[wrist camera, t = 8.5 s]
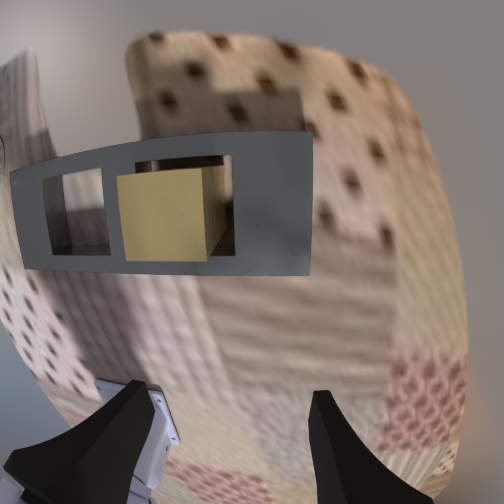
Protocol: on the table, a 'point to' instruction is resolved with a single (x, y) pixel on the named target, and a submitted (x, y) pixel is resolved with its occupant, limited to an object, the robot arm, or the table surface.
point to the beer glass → (1, 158)
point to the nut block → (172, 213)
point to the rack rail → (139, 160)
